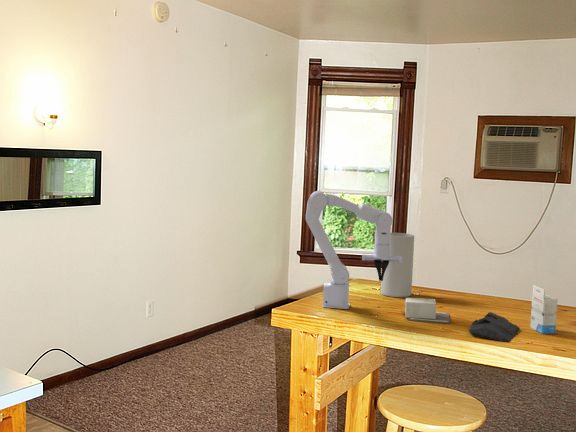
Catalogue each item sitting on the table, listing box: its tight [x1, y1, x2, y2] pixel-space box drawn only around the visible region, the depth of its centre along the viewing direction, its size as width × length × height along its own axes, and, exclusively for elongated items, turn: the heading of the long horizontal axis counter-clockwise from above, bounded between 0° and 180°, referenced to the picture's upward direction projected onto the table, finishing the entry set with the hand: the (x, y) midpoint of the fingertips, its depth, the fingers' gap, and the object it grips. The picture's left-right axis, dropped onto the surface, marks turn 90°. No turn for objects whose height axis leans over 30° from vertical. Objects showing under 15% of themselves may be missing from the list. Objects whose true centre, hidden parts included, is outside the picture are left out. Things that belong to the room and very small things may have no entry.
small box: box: [404, 297, 437, 319], centre depth 227 cm, size 8×6×10 cm
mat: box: [408, 311, 451, 325], centre depth 227 cm, size 14×14×1 cm
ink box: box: [529, 284, 559, 335], centre depth 214 cm, size 9×5×15 cm, turn 5°
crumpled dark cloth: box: [468, 311, 521, 343], centre depth 211 cm, size 15×22×5 cm
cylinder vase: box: [380, 232, 415, 299], centre depth 264 cm, size 12×12×25 cm
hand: (381, 280), depth 239 cm, fingers closed
